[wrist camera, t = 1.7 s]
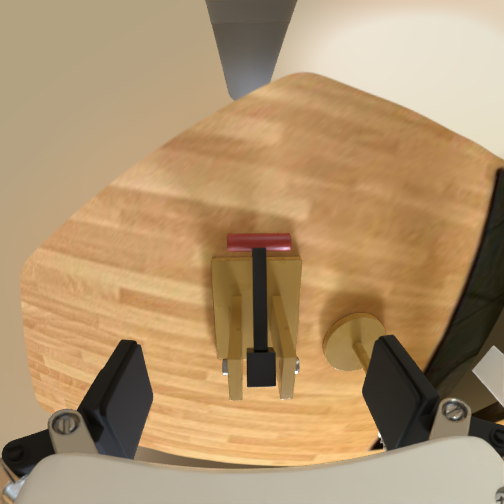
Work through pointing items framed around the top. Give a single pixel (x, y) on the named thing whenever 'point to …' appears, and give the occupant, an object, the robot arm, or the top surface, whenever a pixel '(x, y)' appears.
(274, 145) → the top surface
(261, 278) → the switch lever
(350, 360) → the table lamp
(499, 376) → the milk
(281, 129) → the top surface
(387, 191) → the top surface
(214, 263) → the switch bracket
